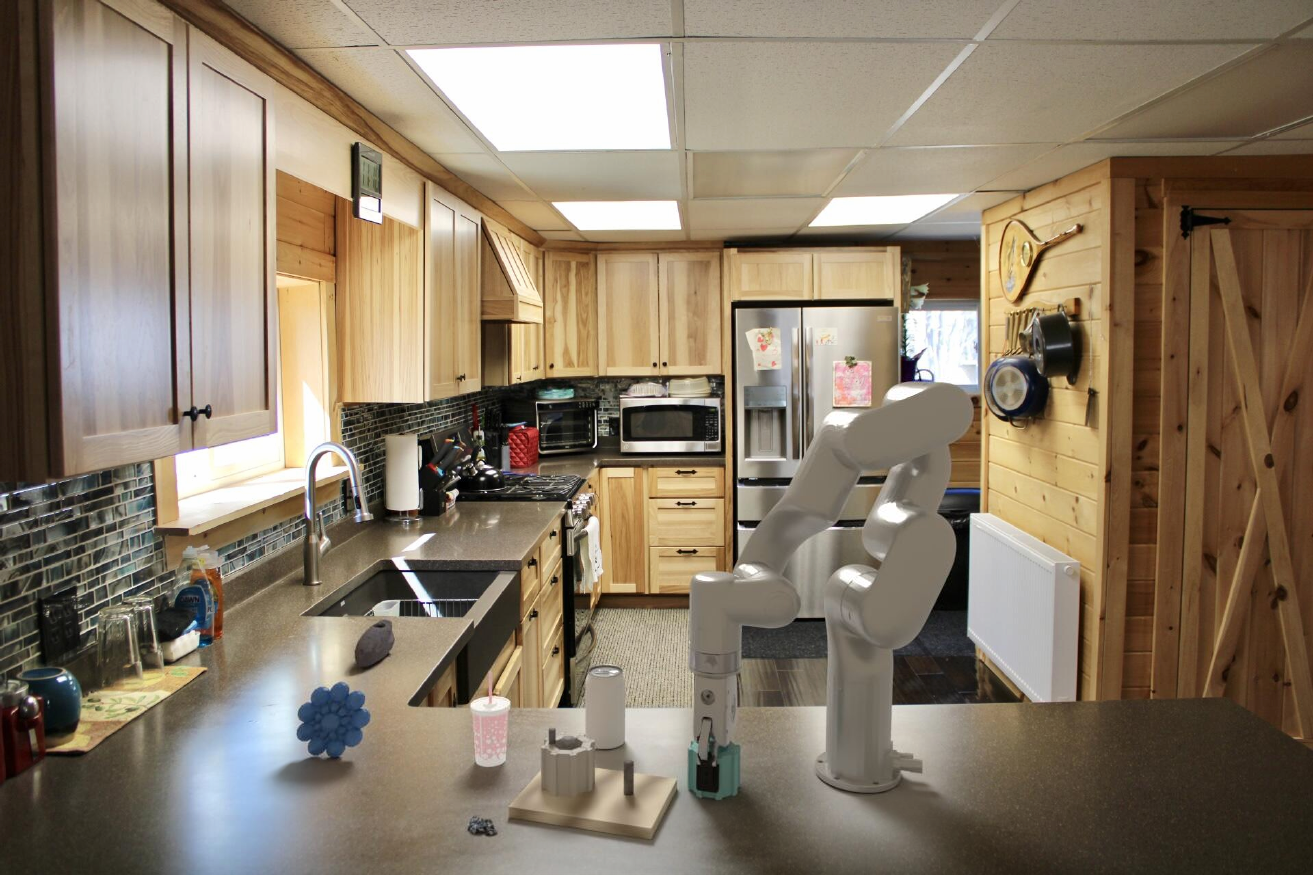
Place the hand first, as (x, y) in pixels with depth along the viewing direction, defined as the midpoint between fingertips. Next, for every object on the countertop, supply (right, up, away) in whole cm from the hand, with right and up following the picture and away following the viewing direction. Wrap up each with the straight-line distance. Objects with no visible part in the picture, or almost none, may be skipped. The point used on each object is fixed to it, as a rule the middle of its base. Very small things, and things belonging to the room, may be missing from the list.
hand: (713, 776), depth 123 cm
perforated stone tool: (-67, +3, +53) cm, 86 cm away
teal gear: (0, -2, 0) cm, 2 cm away
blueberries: (-31, -3, -11) cm, 33 cm away
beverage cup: (-34, -1, +8) cm, 35 cm away
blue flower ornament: (-58, -1, +10) cm, 59 cm away
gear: (-21, 0, -3) cm, 21 cm away
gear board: (-17, -2, -5) cm, 17 cm away
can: (-17, -1, +15) cm, 22 cm away
